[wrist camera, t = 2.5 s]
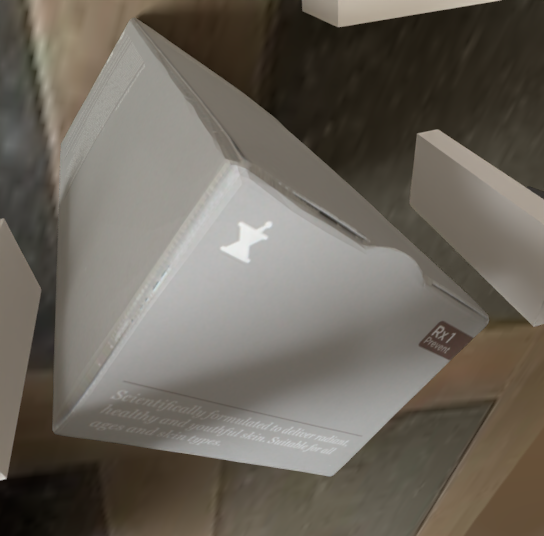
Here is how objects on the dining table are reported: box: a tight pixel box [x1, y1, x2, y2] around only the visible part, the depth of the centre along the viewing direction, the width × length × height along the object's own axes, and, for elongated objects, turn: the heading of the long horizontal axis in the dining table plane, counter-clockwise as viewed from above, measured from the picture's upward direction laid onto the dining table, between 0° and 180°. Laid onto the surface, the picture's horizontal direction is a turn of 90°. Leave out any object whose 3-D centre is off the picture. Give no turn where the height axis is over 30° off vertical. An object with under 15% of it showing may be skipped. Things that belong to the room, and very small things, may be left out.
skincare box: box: [52, 18, 489, 477], centre depth 16 cm, size 8×7×16 cm
